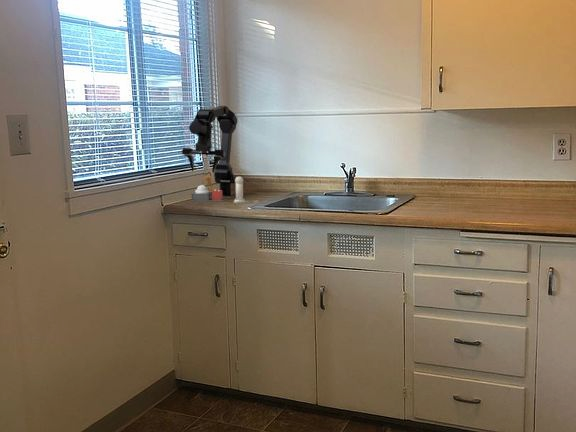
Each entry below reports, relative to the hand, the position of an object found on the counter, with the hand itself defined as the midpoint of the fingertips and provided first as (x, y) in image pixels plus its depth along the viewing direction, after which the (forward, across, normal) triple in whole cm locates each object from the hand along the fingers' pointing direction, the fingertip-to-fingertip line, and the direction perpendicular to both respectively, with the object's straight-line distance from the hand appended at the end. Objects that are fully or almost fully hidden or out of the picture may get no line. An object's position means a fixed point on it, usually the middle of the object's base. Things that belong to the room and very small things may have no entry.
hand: (202, 171), depth 287 cm
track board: (+14, +22, -1) cm, 26 cm away
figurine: (+12, +2, +14) cm, 18 cm away
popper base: (+14, +3, +3) cm, 14 cm away
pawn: (+13, +18, -4) cm, 22 cm away
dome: (+11, 0, +2) cm, 11 cm away
